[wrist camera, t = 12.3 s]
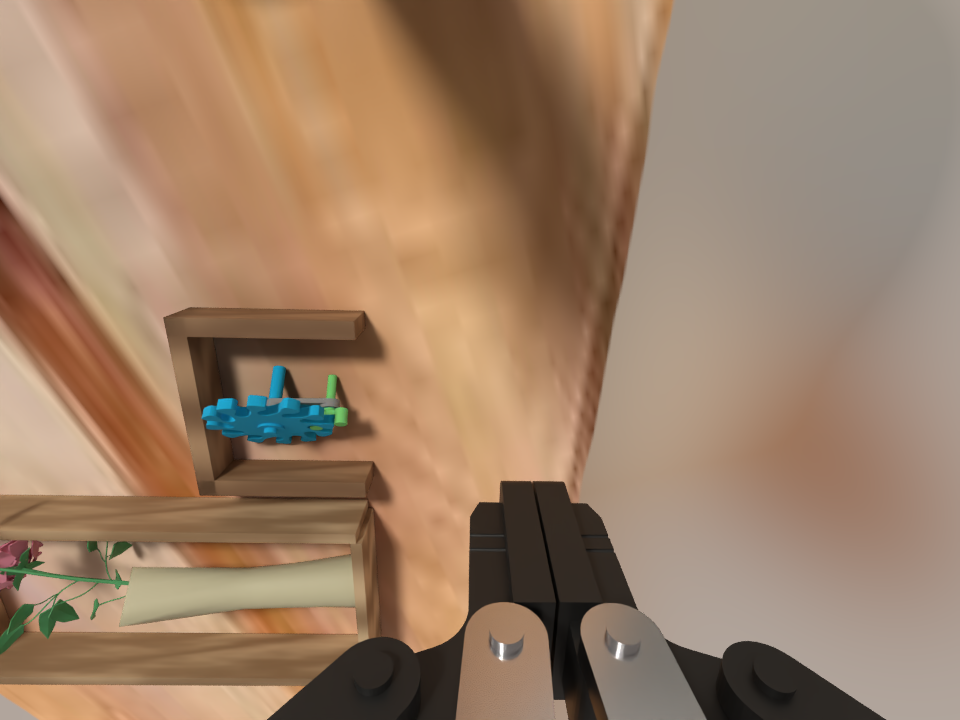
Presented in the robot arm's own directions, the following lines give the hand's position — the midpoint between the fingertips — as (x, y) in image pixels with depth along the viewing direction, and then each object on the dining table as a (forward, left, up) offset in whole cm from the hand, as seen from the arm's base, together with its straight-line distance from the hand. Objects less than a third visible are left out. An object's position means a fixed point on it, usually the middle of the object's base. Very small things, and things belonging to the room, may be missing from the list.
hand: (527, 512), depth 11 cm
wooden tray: (+30, -31, -29) cm, 52 cm away
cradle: (+10, -17, -29) cm, 35 cm away
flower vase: (+26, -29, -29) cm, 49 cm away
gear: (+11, -17, -29) cm, 36 cm away
